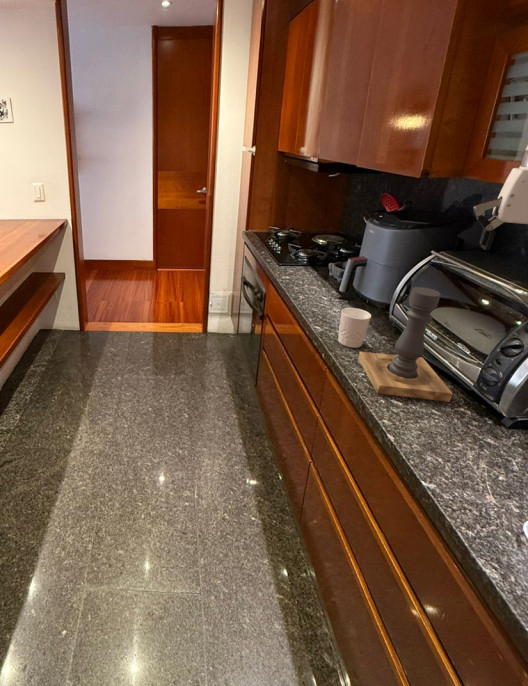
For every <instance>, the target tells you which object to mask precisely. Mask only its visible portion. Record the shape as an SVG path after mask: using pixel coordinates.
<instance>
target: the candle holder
mask: <svg viewBox="0 0 528 686" xmlns="http://www.w3.org/2000/svg"><path fill="white" fill-rule="evenodd" d="M440 298H441V292H440V291H438V290H436V289H432V288H429V287H424V286H414V287H412V288H411V292H410V296H409V299H408V302H409V308H410V309H408V310H407V311H406V316H407V317H408V318H407V321H406V326H405V328H404V330H403V331H402V332H401V334H400V335H399V336H398V338H397V340H396V341H395V345H394V348H395V352H396V355H397V356H396V357H395V358H393V359H392V363H390V365H389V369H388V370H389V371H390V372H391V373H393V374H395V375H397V376H399V377H403V378H409V379H412V378H416V376H417V370H416V369H417V368H418V365H417V363H416V360H417V358H419V357H422V356H423V354H424V353H425V330H426V327H427V325H428V322H430V321H431V320H433V315H432V314H431V313H432V312H434V310H435V309H436V308H438V304H439V301H440Z"/></svg>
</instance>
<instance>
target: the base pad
mask: <svg viewBox="0 0 528 686" xmlns="http://www.w3.org/2000/svg"><path fill="white" fill-rule="evenodd" d="M396 356H397V354H390V353H389V354H388V353H379V352H368V351H359V354H358V358H357V360H358V361H359V363H360V365H361V367H362V369H363V370H364V372H365V374H366V376H367V378H368V379H369V381H370V383H371V385H372V387H373V389H374V390H375V392H376V394H378V395H387V396H397V397H406V398H414V399H421V400H430V401H431V400H432V401H438V402H439V401H440V402H448V403H450V402H451V399H452V397H453V392H452V390H451V389H450V388H449V387H448V386H447V385H446V383H445V382H444V381H443V380H442V379H441V377H440V376H439V375H438V374H437V373H436V372H435V371H434V369H433V368H432V367H431V366H430V364H429V363H428V362H427V361H426V359H424V358H423V357H422V356H420V357H419V358H417V360H416V363H417V365H418V368H417V369H416V370H417V376H416V378H412V379H409V378H403V377H399V376H397V375H395V374H393V373H391V372H390V371H389V370H388V369H389V365H390V363H392V359H393V358H395V357H396Z"/></svg>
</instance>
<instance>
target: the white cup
mask: <svg viewBox="0 0 528 686" xmlns="http://www.w3.org/2000/svg"><path fill="white" fill-rule="evenodd" d="M371 319H372V314H371V313H370V312H369V311H366V310H364V309H361V308H358V307H344V308H342V309H341V313H340V320H339V327H338V335H337V336H338V337H337V342H339V344H341V345H342V346H344V347H347V348H353V349H354V348H355V349H357V348H361V347H362V346H363V343H364V340H365V337H366V335H367V332H368V329H369V326H370V323H371Z"/></svg>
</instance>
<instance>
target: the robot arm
mask: <svg viewBox="0 0 528 686" xmlns="http://www.w3.org/2000/svg"><path fill="white" fill-rule="evenodd" d="M491 209H492V213H491V214H492V217H491V218H489V219H488V218H487V217H486V214H485V211H487V210H491ZM473 212H474V215H475V219H476V220H477V222H478V223H479V224H480V225H481V226H482V228H483V230H482V233H481V236H480V239H479V242H478V243H479V245H480V247H481V248H482V249H483V250H484V251H491V248H492V245H493V242H494V239H495V236H496V230H495V229H496V228H498V227H499V226H501V225H502V224H504V223H512V224H524V225H528V143H527V144H526V147H525V150H524V153H523V156H522V159H521V162H520V165H519V167H513V168H512V169H511V171H510V172H509V174H508V176H507V178H506V180H505V182H504V183H503V186H502V188H501V189H500V192H499V194H498V196H497V198H495V199H492V200H489V201H486V202H482V203H479V204H475V205H474V206H473Z"/></svg>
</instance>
